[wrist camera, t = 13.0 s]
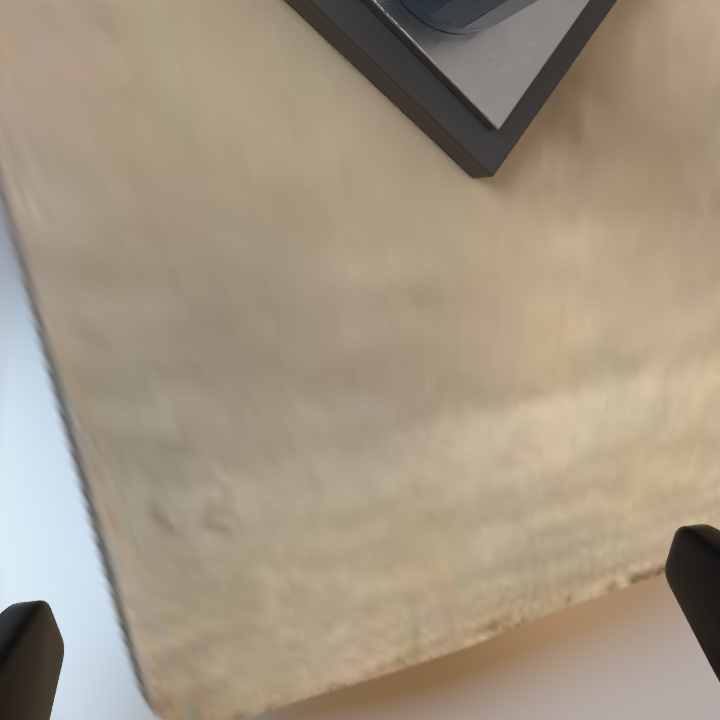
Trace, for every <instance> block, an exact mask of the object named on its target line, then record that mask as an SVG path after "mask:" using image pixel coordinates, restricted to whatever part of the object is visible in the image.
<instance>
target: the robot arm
mask: <svg viewBox="0 0 720 720" xmlns="http://www.w3.org/2000/svg"><path fill="white" fill-rule="evenodd" d="M665 573H666V578H667V581H668V583H669V585H670V588H671V590H672V592H673V593H674V595H675V597H676V599H677V601H678V603H679V605H680V607H681V609H682V611H683V613H684V614H685V616H686V618H687V621H688V622H689V624H690V626H691V628H692V630H693V632H694V634H695V636H696V638H697V640H698V642H699V644H700V646H701V648H702V649H703V651H704V653H705V655H706V657H707V659H708V661H709V663H710V665H711V667H712V669H713V670H714V672H715V674H716V676H717V678H718V680H719V681H720V530H718V529H716V528H714V527H712V526H709V525H704V524H700V525H691V526H683V527H680V528H679V529H678V530H677V531H676V532H675V535H674V538H673V541H672V545H671V548H670V551H669V555H668V558H667V561H666V565H665ZM63 656H64V644H63V639H62V636H61V634H60V631H59V629H58V626H57V623H56V621H55V618H54V616H53V613H52V610H51V608H50V606H49V604H48V603H46V602H45V601H41V600H39V601H31V602H22V603H16V604H13V605H11V606H9V607H8V608H6V609H5V610H4V611H3V612H2V613H1V614H0V720H49V719H50V715H51V711H52V706H53V702H54V697H55V693H56V688H57V684H58V680H59V675H60V670H61V667H62V662H63Z"/></svg>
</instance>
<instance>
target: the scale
mask: <svg viewBox="0 0 720 720" xmlns="http://www.w3.org/2000/svg"><path fill="white" fill-rule="evenodd" d="M285 1H287V2H288V3H289V4H290V5H291V6H292V7H293V8H294V9H295V10H296V11H297V12H298V13H299V14H300V15H301V16H302V17H303V18H304V19H306V20H307V21H308V22H309V23H310V24H311V25H312V26H313V27H314V28H315V29H316V30H317V31H318V32H319V33H320V34H321V35H322V36H323V37H325V38H326V39H327V40H328V41H329V42H330V43H331V44H332V45H333V46H334V47H335V48H336V49H337V50H338V51H339V52H340V53H341V54H343V55H344V56H345V57H346V58H347V59H348V60H349V61H350V62H351V63H352V64H353V65H354V66H355V67H356V68H357V69H358V70H359V71H360V72H362V73H363V74H364V75H365V76H366V77H367V78H368V79H369V80H370V81H371V82H372V83H373V84H374V85H375V86H376V87H377V88H378V89H380V90H381V91H382V92H383V93H384V94H385V95H386V96H387V97H388V98H389V99H390V100H391V101H392V102H393V103H394V104H395V105H396V106H397V107H399V108H400V109H401V110H402V111H403V112H404V113H405V114H406V115H407V116H408V117H409V118H410V119H411V120H412V121H413V122H414V123H415V124H417V125H418V126H419V127H420V128H421V129H422V130H423V131H424V132H425V133H426V134H427V135H428V136H429V137H430V138H431V139H432V140H433V141H434V142H436V143H437V144H438V145H439V146H440V147H441V148H442V149H443V150H444V151H445V152H446V153H447V154H448V155H449V156H450V157H451V158H452V159H454V160H455V161H456V162H457V163H458V164H459V165H460V166H461V167H462V168H463V169H464V170H465V171H466V172H467V173H468V174H469V175H470V176H471V177H473V178H481V177H492V176H493V175H494V174H495V173H496V171H497V170H498V168H499V167H500V166H501V164H502V163H503V161H504V160H505V158H506V157H507V156H508V154H509V153H510V151H511V150H512V148H513V147H514V146H515V144H516V143H517V141H518V140H519V139H520V137H521V136H522V134H523V133H524V131H525V130H526V129H527V127H528V126H529V124H530V123H531V121H532V120H533V119H534V117H535V116H536V114H537V113H538V112H539V110H540V109H541V107H542V106H543V104H544V103H545V102H546V100H547V99H548V97H549V96H550V94H551V93H552V92H553V90H554V89H555V87H556V86H557V85H558V83H559V82H560V80H561V79H562V77H563V76H564V75H565V73H566V72H567V70H568V69H569V67H570V66H571V65H572V63H573V62H574V60H575V59H576V58H577V56H578V55H579V53H580V52H581V50H582V49H583V48H584V46H585V45H586V43H587V42H588V40H589V39H590V38H591V36H592V35H593V33H594V32H595V31H596V29H597V28H598V26H599V25H600V23H601V22H602V21H603V19H604V18H605V16H606V15H607V13H608V12H609V11H610V9H611V8H612V6H613V5H614V4H615V2H616V1H617V0H538V1H537V2H535V3H533V4H531V5H530V6H528V7H526V8H524V9H523V10H521V11H519V12H517V13H516V14H514V15H512V16H510V17H509V18H507V19H505V20H503V21H502V22H500V23H498V24H496V25H495V26H492V27H489V28H488V29H485V30H482V31H479V32H474V33H468V34H456V33H450V32H445V31H442V30H439V29H436V28H434V27H432V26H430V25H428V24H426V23H425V22H423V21H422V20H420V19H419V18H418V17H416V16H415V15H414V14H413V13H412V12H411V11H410V10H409V9H408V8H407V7H406V6H405V5H404V4H403V3H402V1H401V0H285Z"/></svg>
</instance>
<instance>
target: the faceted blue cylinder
mask: <svg viewBox="0 0 720 720" xmlns="http://www.w3.org/2000/svg"><path fill="white" fill-rule="evenodd" d="M401 1H402V3H403V4H404V5H405V6H406V7H407V8H408V9H409V10H410V11H411V12H412V13H413V14H414V15H415V16H416V17H418V18H419V19H420V20H422V21H423V22H425V23H426V24H428V25H430V26H432V27H434V28H436V29H439V30H442V31H445V32H450V33H456V34H468V33H474V32H479V31H482V30H485V29H488V28H489V27H492V26H495V25H496V24H498V23H500V22H502V21H503V20H505V19H507V18H509V17H510V16H512V15H514V14H516V13H517V12H519V11H521V10H523V9H524V8H526V7H528V6H530V5H531V4H533V3H535V2H537V1H538V0H401Z"/></svg>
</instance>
